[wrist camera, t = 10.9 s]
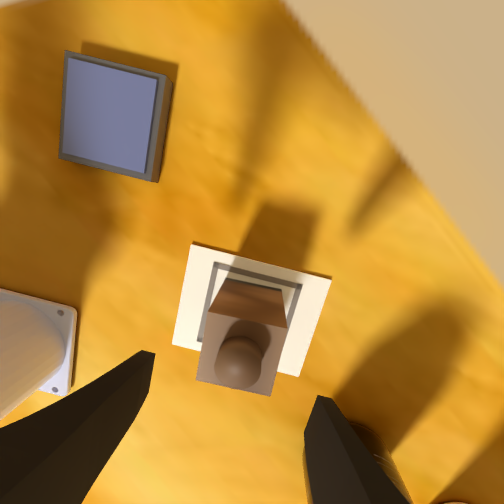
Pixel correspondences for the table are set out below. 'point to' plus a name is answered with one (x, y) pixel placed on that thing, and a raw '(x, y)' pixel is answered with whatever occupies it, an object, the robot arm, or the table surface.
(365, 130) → the table surface
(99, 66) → the ink pad
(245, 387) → the stamp
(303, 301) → the form sheet
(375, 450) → the supplement bottle
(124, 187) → the table surface
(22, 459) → the robot arm
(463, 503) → the drinking glass
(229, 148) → the table surface
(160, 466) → the table surface
